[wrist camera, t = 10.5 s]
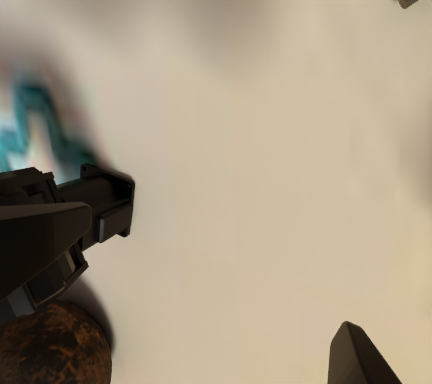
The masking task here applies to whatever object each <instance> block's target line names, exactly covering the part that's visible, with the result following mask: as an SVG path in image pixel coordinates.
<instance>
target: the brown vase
mask: <svg viewBox="0 0 432 384" xmlns="http://www.w3.org/2000/svg"><path fill="white" fill-rule="evenodd" d="M111 373H112V360H111V353H110V348H109V345H108V342H107V339H106V337H105V335H104V333H103V332H102V330H101V328H100V327H99V325H98V324H97V323H96V322H95V321H94V320H93V319H92V318H91V317H90V316H89V315H88V314H87V313H86V312H84V311H83V310H82V309H80V308H79V307H77V306H75V305H73V304H71V303H68V302H65V301H62V300H58V299H56V300H55V301H53V302H52V303H50V304H49V305H47V306H46V307H44V308H42V309H41V310H39V311H37V312H35V313H32V314H30V315H28V316H25V317H22V318H18V319H12V320H10V321H8V322H6V323H4V324H2V325H0V384H110V382H111Z"/></svg>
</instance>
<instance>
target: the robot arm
mask: <svg viewBox="0 0 432 384" xmlns="http://www.w3.org/2000/svg"><path fill="white" fill-rule="evenodd" d="M53 178H54V175H53V173H52V172H48V173H42V171H39V170H37V169H36V168H35V167H30V168H25V169H20V170H15V171H9V172H2V173H0V325H2V324H4V323H6V322H8V321H10V320H12V319H18V318H22V317H25V316H28V315H30V314H32V313H35V312H37V311H39V310H41V309H42V308H44V307H46V306H47V305H49V304H50V303H52V302H53V301H55V300H56V299H57V298H58V297H59V296H60V295H61V294H62V293H63V292H64V291H65V290H66V289H67V288H68V287H69V286H70V285H71V284H72V283H73V282H74V281H75V280H76V279H77V278H78V277H79V276H80V275H81V274H82V273H83V272H84V271H85V270H86V269H87V268H88V267H89V266H88V263H87V261H85V258H84V256H83V253H82V252H83V251H84V250H86V249H88V248H89V247H91V246H93V245H94V244H96V243H97V242H99V243H102V242H104V241H106V240H107V239H109V238H111V237H112V236H114V235H115V234H118V235H120V236H122V237H127V236H128V235H129V234H130V226H131V220H132V212H133V199H134V190H135V184H134V182H133V181H131V180H129V179H126V178H123V177H121V176H118V175H116V174H113V173H111V172H108V171H106V170H103V169H101V168H98V167H95V166H93V165H90V164H88V163H85V164H82V165H81V173H80V179H76V180H73V181H69V182H66V183H62V184H59V185H56V184H55V181H54V179H53ZM129 185H130V187H129ZM327 384H402V383H401V381H400V380H399V379H398V377H397V376H396V374H395V373H394V372H393V370H392V369H391V367H390V366H389V365H388V363H387V362H386V361H385V359H384V358H383V356H382V355H381V354H380V352H379V351H378V349H377V348H376V347H375V345H374V344H373V343H372V341H371V340H370V338H369V337H368V336H367V334H366V333H365V332H364V330H363V329H362V328H361V327H360V326H357V325H355V324H353V323H351V322H348V321H345V322H343V323H342V325H341V326H340V328H339V330H338V331H337V333H336V335H335V336H334V338H333V340H332V342H331V346H330V356H329V370H328V383H327Z"/></svg>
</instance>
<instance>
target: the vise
mask: <svg viewBox="0 0 432 384" xmlns="http://www.w3.org/2000/svg"><path fill="white" fill-rule="evenodd" d="M398 1H399V4H400V5H401V7H402V8H404V9H406V8H407V7H409V6H410V5H412V4H414V3H415V2H417V1H418V0H398Z"/></svg>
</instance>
